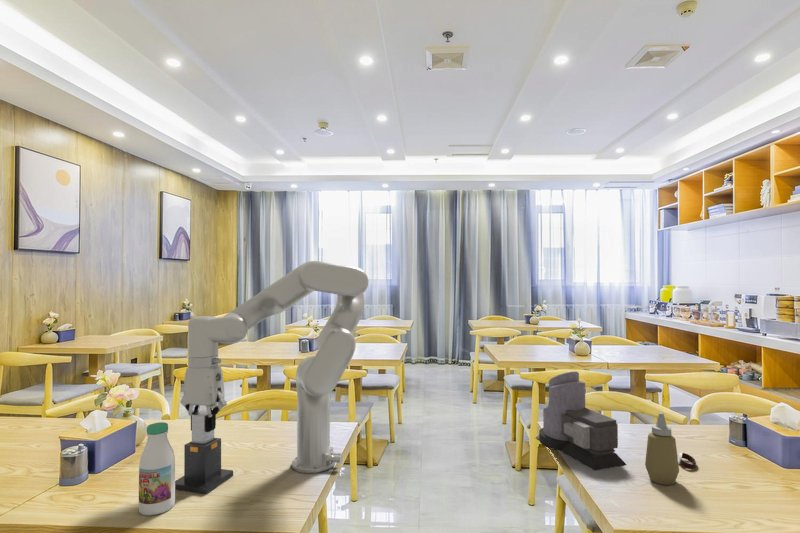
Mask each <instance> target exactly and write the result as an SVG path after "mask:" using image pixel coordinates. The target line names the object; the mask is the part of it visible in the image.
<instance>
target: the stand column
mask: <svg viewBox="0 0 800 533" xmlns="http://www.w3.org/2000/svg"><path fill="white" fill-rule="evenodd" d="M206 417H208V415H207V410H199V412H197V413H195V414H193V415H192V431H191V441H192V444H194V445H203V446H205V445H207V444H209V443H211V442H212V441H214V438H215V429H214V430H212V431H210V432H206Z"/></svg>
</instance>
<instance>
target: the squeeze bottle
mask: <svg viewBox="0 0 800 533" xmlns="http://www.w3.org/2000/svg"><path fill="white" fill-rule="evenodd" d="M678 457H679V456H678V450H677V441H676V438H675V436H673V435H672V427H670V426H668V425H667V422H666V417H665V414H664V413H662V412H659V413H658V416H657V420H656V424H652V425H651V432H649V433H648V434H647V442H646V454H645V463H644V465H645V468H646V471H647V474H648V477H649V479H650V480H651V481H652V482H654V483H657V484H660V485H665V486H666V485H667V486H671V485H674V484H675V483H676V480H677V478H678V476H679V473H680V467H679V465H680V464H678Z"/></svg>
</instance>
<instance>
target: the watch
mask: <svg viewBox="0 0 800 533" xmlns="http://www.w3.org/2000/svg"><path fill="white" fill-rule="evenodd" d="M677 457H678V465H680V466H682V467H683V468H685V469H687V470H688V469H689V470H693V469H695V468H696V464H697V461H696V460H695V458H694V457H693V456H692V455H690V454H688V453H685V452H683V451H682V452H679V455H678V456H677ZM683 459H684V460H683ZM685 460H687V461H688V462H686V461H685ZM689 462H690V463H689Z"/></svg>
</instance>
